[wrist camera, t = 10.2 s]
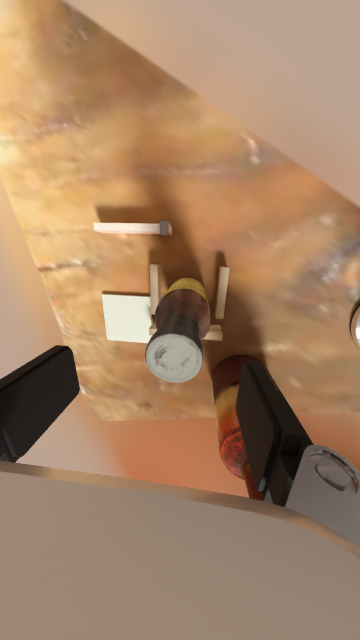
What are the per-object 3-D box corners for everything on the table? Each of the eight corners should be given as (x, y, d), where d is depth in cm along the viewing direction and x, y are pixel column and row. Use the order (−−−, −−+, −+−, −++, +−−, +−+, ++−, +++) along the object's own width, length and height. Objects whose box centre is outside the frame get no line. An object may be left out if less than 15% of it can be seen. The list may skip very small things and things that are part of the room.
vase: (214, 400, 37) (228, 551, 18) (210, 356, 34) (222, 483, 15) (268, 399, 35) (346, 563, 16) (269, 352, 32) (370, 490, 13)
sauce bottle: (163, 287, 30) (103, 333, 12) (195, 269, 29) (186, 289, 10) (181, 319, 32) (154, 404, 13) (213, 304, 30) (232, 376, 12)
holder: (227, 266, 28) (231, 268, 24) (219, 331, 32) (222, 340, 28) (153, 264, 29) (147, 265, 25) (155, 326, 33) (149, 335, 29)
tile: (151, 296, 31) (150, 297, 30) (152, 342, 34) (151, 343, 33) (103, 293, 32) (101, 294, 31) (108, 338, 35) (107, 339, 34)
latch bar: (172, 225, 27) (168, 220, 24) (171, 236, 27) (168, 233, 24) (103, 224, 28) (91, 219, 25) (104, 235, 28) (93, 232, 25)
